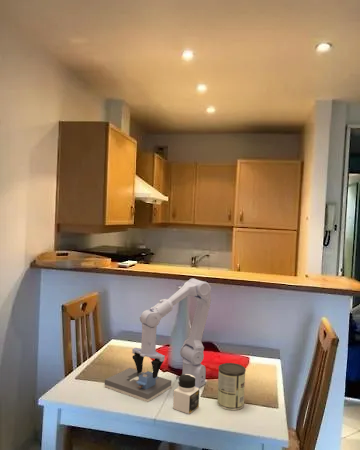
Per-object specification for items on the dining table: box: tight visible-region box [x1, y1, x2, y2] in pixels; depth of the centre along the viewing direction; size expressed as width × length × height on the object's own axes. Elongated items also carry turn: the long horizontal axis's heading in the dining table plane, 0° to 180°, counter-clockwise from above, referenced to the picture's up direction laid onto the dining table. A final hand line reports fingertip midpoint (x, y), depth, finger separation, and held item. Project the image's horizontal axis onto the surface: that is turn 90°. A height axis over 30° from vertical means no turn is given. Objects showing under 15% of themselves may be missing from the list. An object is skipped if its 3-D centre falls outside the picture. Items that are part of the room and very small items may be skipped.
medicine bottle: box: [172, 374, 200, 415], centre depth 153 cm, size 7×7×12 cm
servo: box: [136, 370, 159, 389], centre depth 163 cm, size 4×10×5 cm, turn 148°
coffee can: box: [217, 362, 247, 411], centre depth 157 cm, size 10×10×14 cm
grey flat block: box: [104, 367, 172, 403], centre depth 169 cm, size 22×16×3 cm
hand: (147, 374), depth 164 cm, fingers open, 7 cm apart
